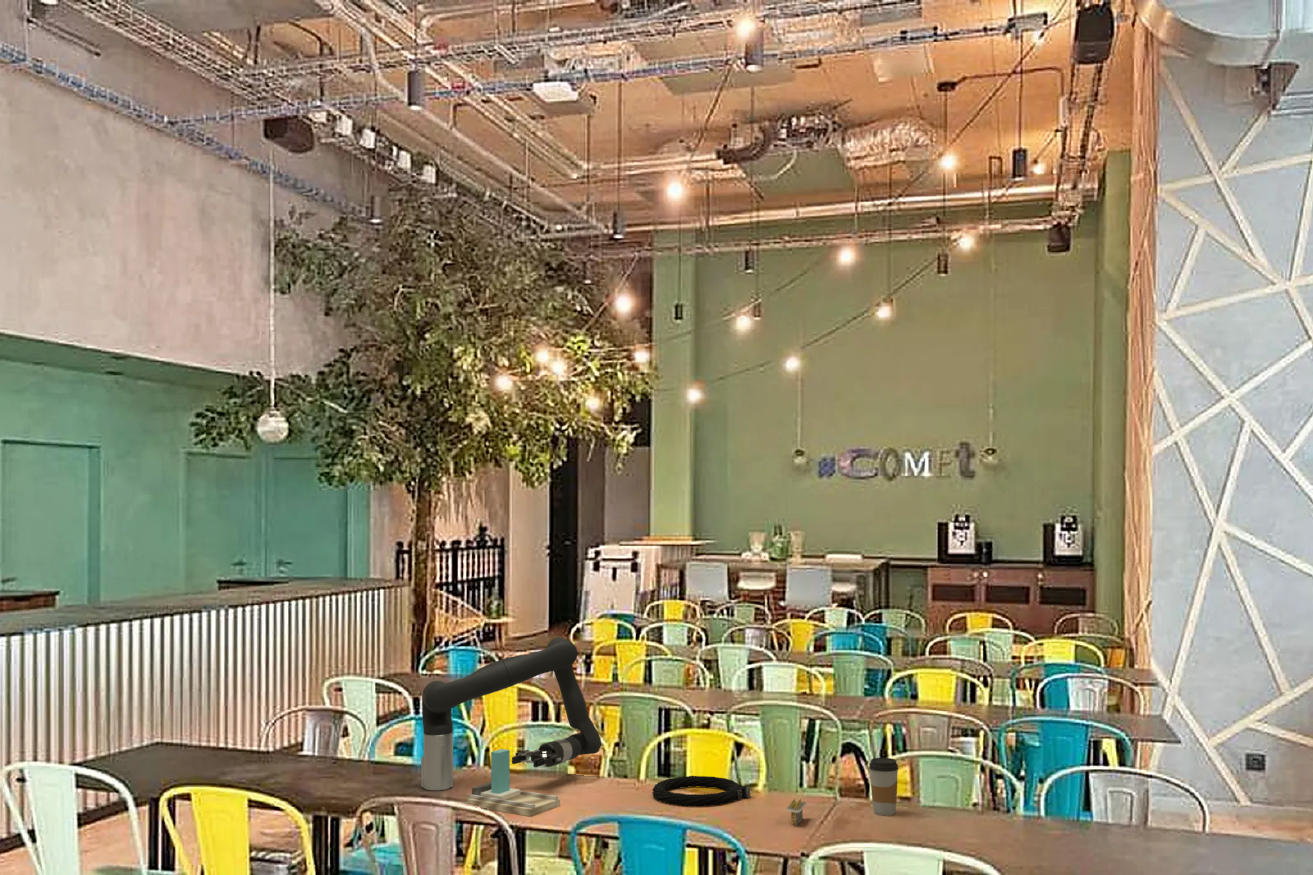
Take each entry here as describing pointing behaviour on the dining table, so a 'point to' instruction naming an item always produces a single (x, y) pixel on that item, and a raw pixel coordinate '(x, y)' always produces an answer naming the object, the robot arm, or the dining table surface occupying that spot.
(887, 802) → the coffee cup
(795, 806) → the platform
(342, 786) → the dining table surface
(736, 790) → the cable lock
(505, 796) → the post
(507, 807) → the rail board
